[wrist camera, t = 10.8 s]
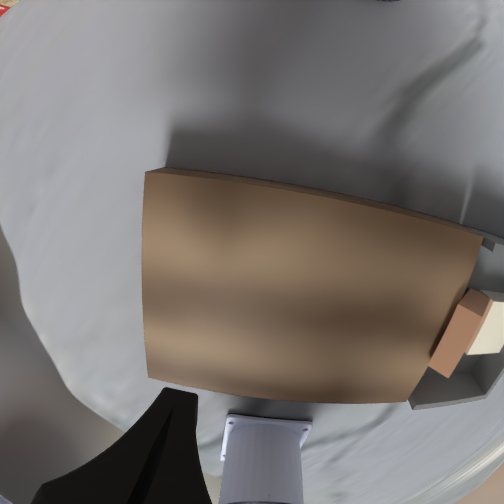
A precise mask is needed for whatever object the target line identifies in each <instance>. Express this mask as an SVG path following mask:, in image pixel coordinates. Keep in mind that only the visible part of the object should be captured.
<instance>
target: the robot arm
mask: <svg viewBox="0 0 504 504" xmlns="http://www.w3.org/2000/svg"><path fill="white" fill-rule="evenodd" d="M197 414H198V395H197V394H196V393H191V392H186V391H181V390H177V389H172V388H168V387H165V388H163V390H162V391H161V393H160V394H159V395H158V397H157V398H156V399H155V401H154V402H153V403H152V405H151V406H150V407H149V408H148V409H147V411H146V412H145V413H144V414H143V415H142V416H141V417H140V418H139V420H138V421H137V422H136V423H135V424H134V425H133V426H132V427H131V428H130V429H129V430H128V431H127V432H126V433H125V434H124V435H123V436H122V437H121V438H120V439H119V440H117V441H116V442H115V443H114V444H113V445H112V446H110V447H109V448H107V449H106V450H105V451H104V452H102V453H101V454H99V455H98V456H97V457H95V458H94V459H92V460H91V461H89V462H88V463H86V464H84V465H82V466H81V467H79V468H77V469H75V470H73V471H71V472H69V473H68V474H65V475H63V476H61V477H59V478H56V479H54V480H51V481H49V482H46V483H44V484H42V485H41V487H40V488H39V490H38V491H37V493H36V494H35V497H34V498H33V500H32V503H31V504H212V502H211V499H210V497H209V494H208V491H207V487H206V484H205V481H204V477H203V473H202V469H201V465H200V460H199V454H198V448H197V441H196V426H197ZM311 428H312V422H310V421H294V420H280V419H268V418H259V417H250V416H242V415H235V414H229V415H227V418H226V424H225V431H224V437H223V443H222V449H221V455H220V460H222V461H224V467H223V475H222V482H221V490H220V497H219V504H304V502H303V484H302V467H301V452H300V448H301V446H302V445H303V443H304V441H305V439H306V437H307V436H308V434H309V432H310V430H311ZM0 504H12V503H11V502H9V501H8V500H7V499H5V498H4V497H3V496H1V495H0Z"/></svg>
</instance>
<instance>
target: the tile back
mask: <svg viewBox="0 0 504 504" xmlns="http://www.w3.org/2000/svg"><path fill="white" fill-rule="evenodd" d="M480 293H482V294H483V295H485V296H487V297H489V298H490V301H489V303H488V305H487V308H486V310H485V312H484V314H483V317H482V319H481V321H480V323H479V325H478V327H477V329H476V331H475V333H474V335H473V337H472V339H471V341H470V343H469V344H468V346H467V348H466V350H465V353H466V354H467V355H473V354H489V353H499V352H500V350H501V349H502V347H503V345H504V293H499V292H493V291H486V290H480Z"/></svg>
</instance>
